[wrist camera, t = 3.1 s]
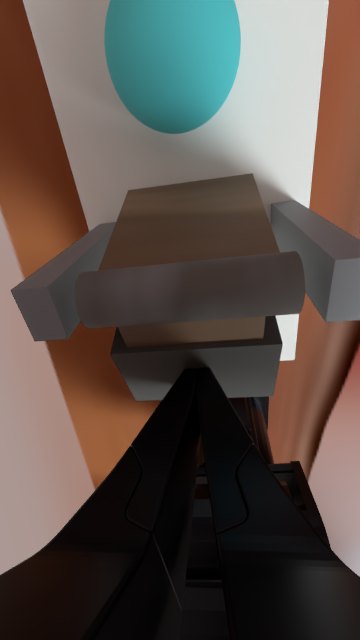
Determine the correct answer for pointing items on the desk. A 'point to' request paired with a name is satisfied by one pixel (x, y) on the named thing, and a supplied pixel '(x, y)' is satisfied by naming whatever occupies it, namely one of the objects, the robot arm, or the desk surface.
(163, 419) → the robot arm
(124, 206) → the lever
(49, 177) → the desk surface
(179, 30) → the ball
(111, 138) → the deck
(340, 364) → the desk surface
